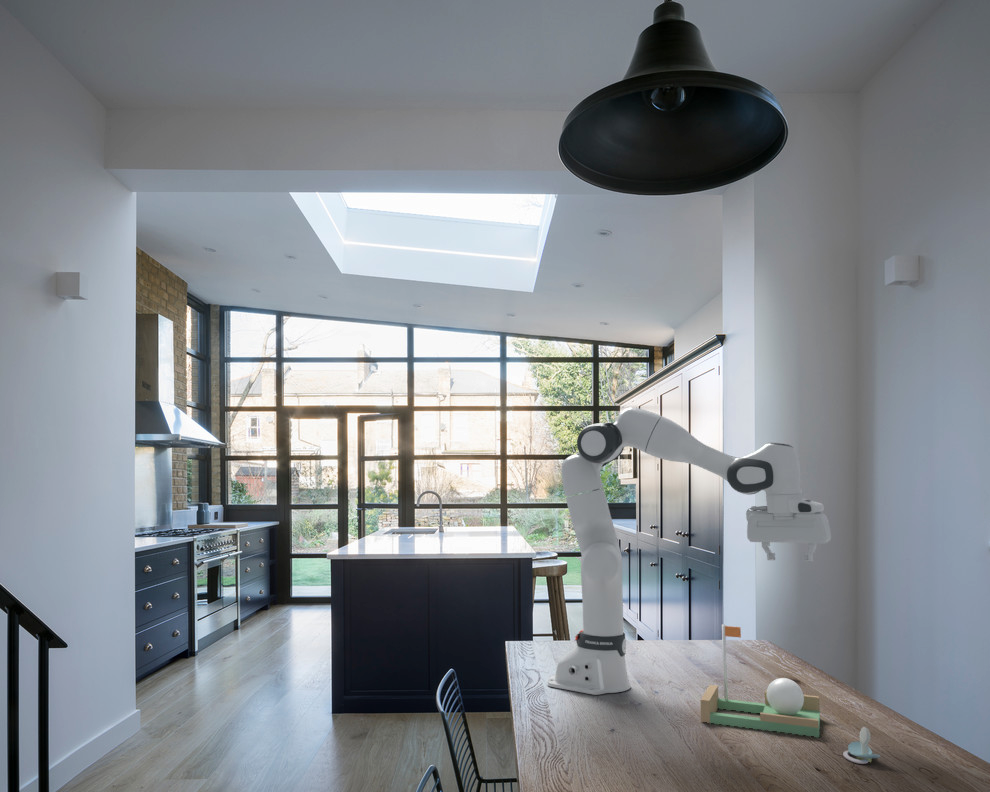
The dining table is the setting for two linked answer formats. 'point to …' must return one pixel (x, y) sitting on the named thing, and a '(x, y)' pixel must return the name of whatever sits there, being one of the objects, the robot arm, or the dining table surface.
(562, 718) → the dining table surface
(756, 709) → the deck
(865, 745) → the pacifier
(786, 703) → the ball
